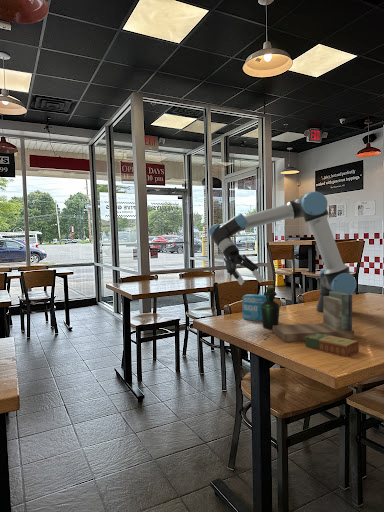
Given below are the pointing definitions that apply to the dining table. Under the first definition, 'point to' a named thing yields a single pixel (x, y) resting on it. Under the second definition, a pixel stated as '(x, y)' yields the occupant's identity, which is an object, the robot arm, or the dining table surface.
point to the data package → (252, 306)
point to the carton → (332, 344)
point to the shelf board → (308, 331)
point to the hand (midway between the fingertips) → (252, 282)
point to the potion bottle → (270, 309)
